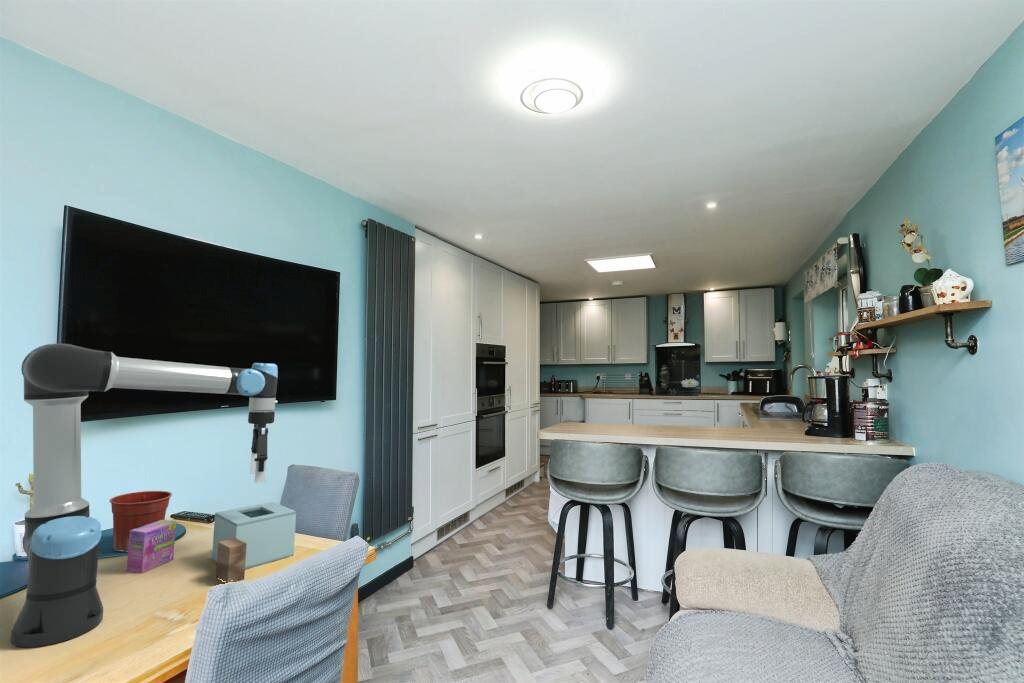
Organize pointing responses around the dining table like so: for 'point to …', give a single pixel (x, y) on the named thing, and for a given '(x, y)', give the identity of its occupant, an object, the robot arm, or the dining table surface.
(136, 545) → the box
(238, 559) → the token
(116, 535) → the flower pot
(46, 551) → the robot arm
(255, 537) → the posting box
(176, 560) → the dining table surface
